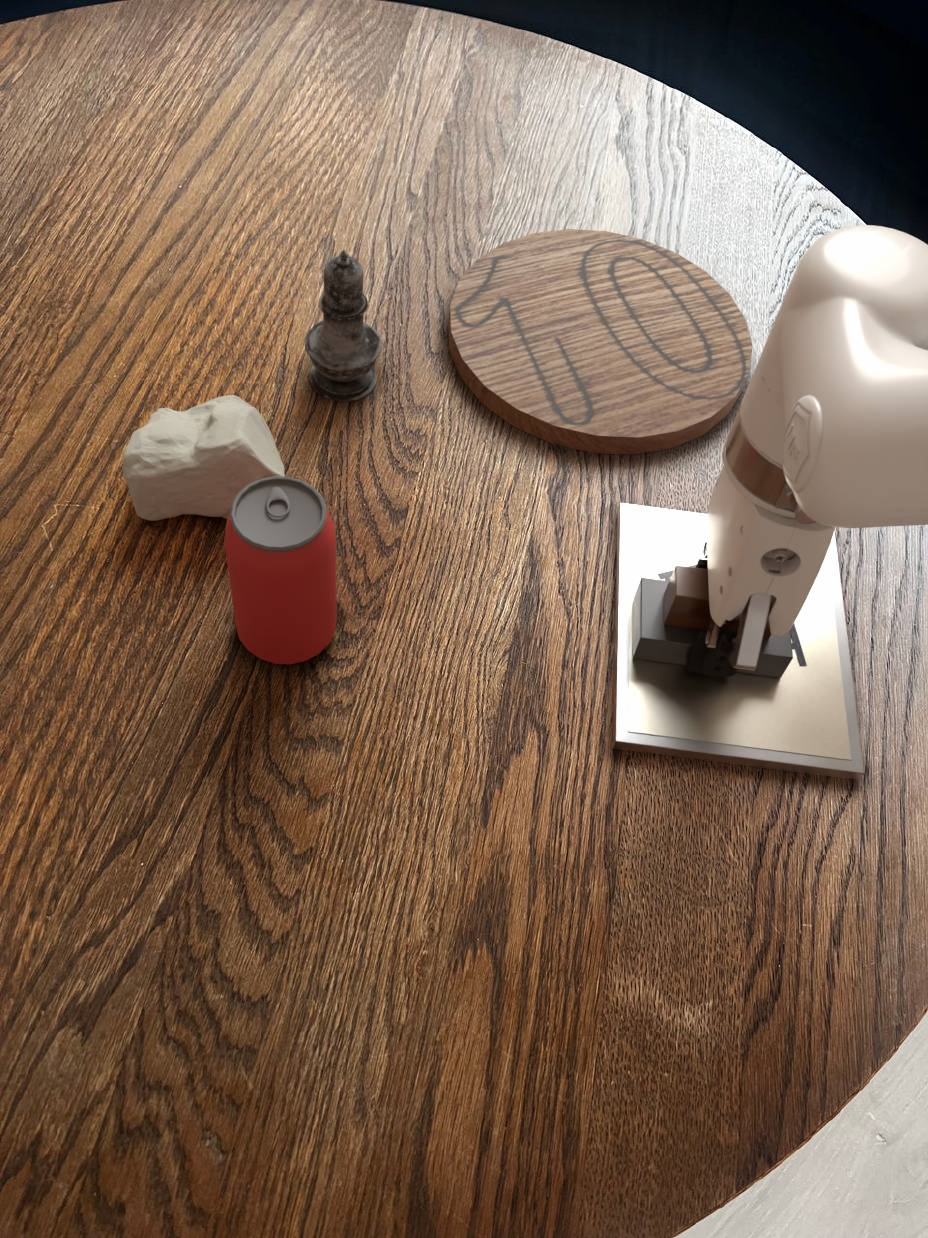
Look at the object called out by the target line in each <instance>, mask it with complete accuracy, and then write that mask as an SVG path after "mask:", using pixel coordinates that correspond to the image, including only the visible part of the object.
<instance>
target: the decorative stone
mask: <svg viewBox="0 0 928 1238" xmlns="http://www.w3.org/2000/svg"><path fill="white" fill-rule="evenodd" d="M285 468H286V467H285V464H284V462H283V460H282V458H281V455H280V452H279V450H278V447H277V444H276V441H275V438H274V436H273V434H272V431H271V430H270V428H269V426H268V424H267V422H266V420H265V418H264V417H263V416H262V414H261V413H260V411H259V410H258V409H257V408H256V407H255V406H252V405H251V404H250V403H248V402H246V401H245V400H243V399H242V398H241V397H239V396H237V395H234V394H229V395H222V396H217V397H215V398H212V399H210V400H208V401H207V400H206V402H203V403H201V404H198V405H194V406H193V407H190V408H188V409H186V410H183V411H181V410H180V411H179V410H174V409H171V408H170V407H159V408H158V409H157V408H156V409H155V410H154V411H153V412H152V413H151V415H149V420H148V422H147V423H146V424H145V425H144V426H142V427H140V428H138V429H136V430H134V431H133V432H132V434H131V436H130V439H129V441H128V442H127V445H126V447H125V448H124V451H123V455H122V471H123V478H124V481H125V482H126V484H127V487H128V492H129V496H130V498H131V501H132V504H133V509H134V511H135V513H136V515H137V517H139V518H140V519H143V520H146V521H149V522H153V521H160V520H164V519H172V518H176V517H178V516H181V515H197V516H204V517H212V518H220V517H221V518H222V519H226V520H227V519H228V517H229V515H230V511H231V504H232V502H233V501H234V499H235V497H236V495H237V494H238V493H239V492H240V491H241V490H242V489H243V488H245V487H246V486H247V485H248V484H251V483H253V482H255V481H257V480H259V479H263V478H268V477H273V476H282V477H286V474H285V472H286V471H285Z"/></svg>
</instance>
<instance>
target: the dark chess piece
mask: <svg viewBox="0 0 928 1238" xmlns="http://www.w3.org/2000/svg"><path fill="white" fill-rule="evenodd" d="M363 268H364V267H363V266H362V264H361V263H360V261H359V260H358V259H356V258H355V257H353V256H349V253H348V252H347V251H346V250H342V251H340V253H339V254H338V255H337V256H335V257H333V258H331V259H330V260H328V261H327V262H326V264H325V266H324V269H323V294H321V296H320V297H319V300H318V307H319V310H320V311H321V313H323V314H322V315H323V317H322V318H323V319H322V320H321V321H319V322H317V323H316V324H314V325H312V326H311V328H310V329H309V330H308V331H307V333H306V335H305V337H304V349H305V351H306V354H307V356H308V357H309V359H310V361H311V363H312V366H311V369H310V371H309V383H310V385H311V388H312V389H313V390H314V391H315V392H316V393H317V394H318V395H320V396H321V397H322V398H325V399H328V400H329V401H335V402H339V403H341V402H342V403H343V402H344V403H348V402H356V401H358V400H361V399H364V398H365V397H367V396H368V395H370V394H371V393H372V392H373V390H374V389H375V388H376V385H377V382H378V379H377V378H378V374H377V373H376V369H375V368H374V366H375V364H376V361H377V359H378V358H379V357H380V355H381V352H382V349H383V341H382V338H381V335H380V334H379V332H378V331H377V330H376V329H375V327H373V326H371V325H369V324H368V323H367V322H365V321H364V314H365V313H366V312H367V311H368V308H369V301H368V298H367V297H366V295H365V294H364V269H363Z"/></svg>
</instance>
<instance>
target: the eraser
mask: <svg viewBox="0 0 928 1238" xmlns="http://www.w3.org/2000/svg"><path fill="white" fill-rule="evenodd" d="M768 613H769V612H768ZM711 618H712V617H711V614H710V606H709V587H708V569H701V568H693V567H686V566H678V565H676V566H675V568H674V570H673V573H672V575H671V578H670V580H669V581H666V580H658V579H651V578H643V577H642V578H641V579H640V582H639V585H638V587H637V590H636V593H635V596H634V598H633V659H640V660H648V661H656V662H663V663H671V664H679V665H686V666H687V663H686V662H687V659H688V657H689V655H690V653H691V651H692V649H693V647H694V645H695V643H696V640H697V638H698V636H699V634H700V632H701V631H704V630H708V627H709V624H710V621H711ZM739 623H740V621H733V620H731V621H729V620H726V624H724V625H723V629H730V630H738V627H739ZM792 659H793V652H792V641H791V629H790V630H789V631H788V632H787V633H786V634H784V635H773V634H771V631H770V624H769V617H768V616H767V621H766V625H765V630H764V635H763V639H762V644H761V648H760V653H759V657H758V662H757V666H756V669H755V670H754V671H753V670H746V669H737V671H736V672H740V673H747V674H755V675H763V676H770V677H778V678H781V677H782V675H783V674H784V672H785V670H786V669H787V667H788V665H789V664H790V662H791V660H792Z"/></svg>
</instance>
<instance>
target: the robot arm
mask: <svg viewBox="0 0 928 1238" xmlns="http://www.w3.org/2000/svg"><path fill="white" fill-rule="evenodd" d="M722 464H723V466H722V467H721V468H722V469H721V470H720V473H719V475H718V476H717V479H716V482H715V485H714V487H713V490H712V493H711V496H710V499H709V501H708V506H707V513H706V514H707V539H706V541H705V543H704V547H703V558H707V559H708V560H705V559H699V560H698V563H697V565H696V567H695V568H701V569H708V587H709V606H710V614H711V617H712V618H711V621H710V624H709V627H708V630H704V631H701V632H700V634H699V636H698V638H697V640H696V643H695V645H694V647H693V649H692V651H691V653H690V655H689V657H688V659H687V662H686V663H687V670H688V671H691V672H698V673H704V674H705V675H707V676H712V677H723V676H733V675H735V673H736V671H737V669H746V670H753V671H754V670H755V669H756V666H757V662H758V657H759V653H760V648H761V644H762V639H763V635H764V630H765V625H766V621H767V616H768V617H769V624H770V631H771V634H773V635H784V634H786V633H787V632H788V631H789V630H790V629H791V627H792V626H793V624H794V622H795V620H796V619H797V617H798V615H799V613H800V611H801V609H802V607H803V605H804V603H805V601H806V599H807V597H808V595H809V593H810V591H811V589H812V587H813V585H814V582H815V580H816V578H817V576H818V574H819V571H820V569H821V566H822V564H823V562H824V559H825V557H826V554H827V551H828V548H829V546H830V543H831V540H832V537H833V533H834V531H835V530H836V528H838V529H839V528H840V529H866V528H869V529H871V528H885V527H886V528H888V527H909V526H910V527H911V526H927V525H928V243H926V242H924V241H922V240H921V239H919V238H917V237H915V236H913V235H911V234H909V233H907V232H904V231H901V230H898V229H895V228H891V227H886V226H882V225H872V224H859V225H858V224H857V225H851V226H844V227H840V228H837V229H834V230H832V231H830V232H828V233H826V234H824V235H823V236H821V237H819V238H818V239H817V240H816V241H815V242H814V243H813V244H811V245H810V246H809V247H808V248H807V250H806V251H805V252H804V254H803V255H802V256H801V258H800V260H799V261H798V263H797V265H796V267H795V270H794V272H793V275H792V277H791V279H790V282H789V285H788V287H787V289H786V292H785V295H784V296H783V300H782V302H781V304H780V306H779V309H778V311H777V314H776V317H775V319H774V321H773V324H772V327H771V329H770V332H769V334H768V336H767V339H766V341H765V343H764V346H763V349H762V351H761V354H760V356H759V358H758V361H757V363H756V366H755V368H754V371H753V373H752V375H751V378H750V381H749V383H748V385H747V389H746V391H745V393H744V395H743V397H742V400H741V403H740V406H739V407H738V410H737V412H736V415H735V416H734V420H733V421H732V424H731V427H730V430H729V432H728V434H727V437H726V439H725V441H724V445H723V447H722ZM768 612H769V613H768ZM726 620H729V621H731V620H733V621H740V623H739V627H738V630H730V629H723V625H724V624H726Z"/></svg>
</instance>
